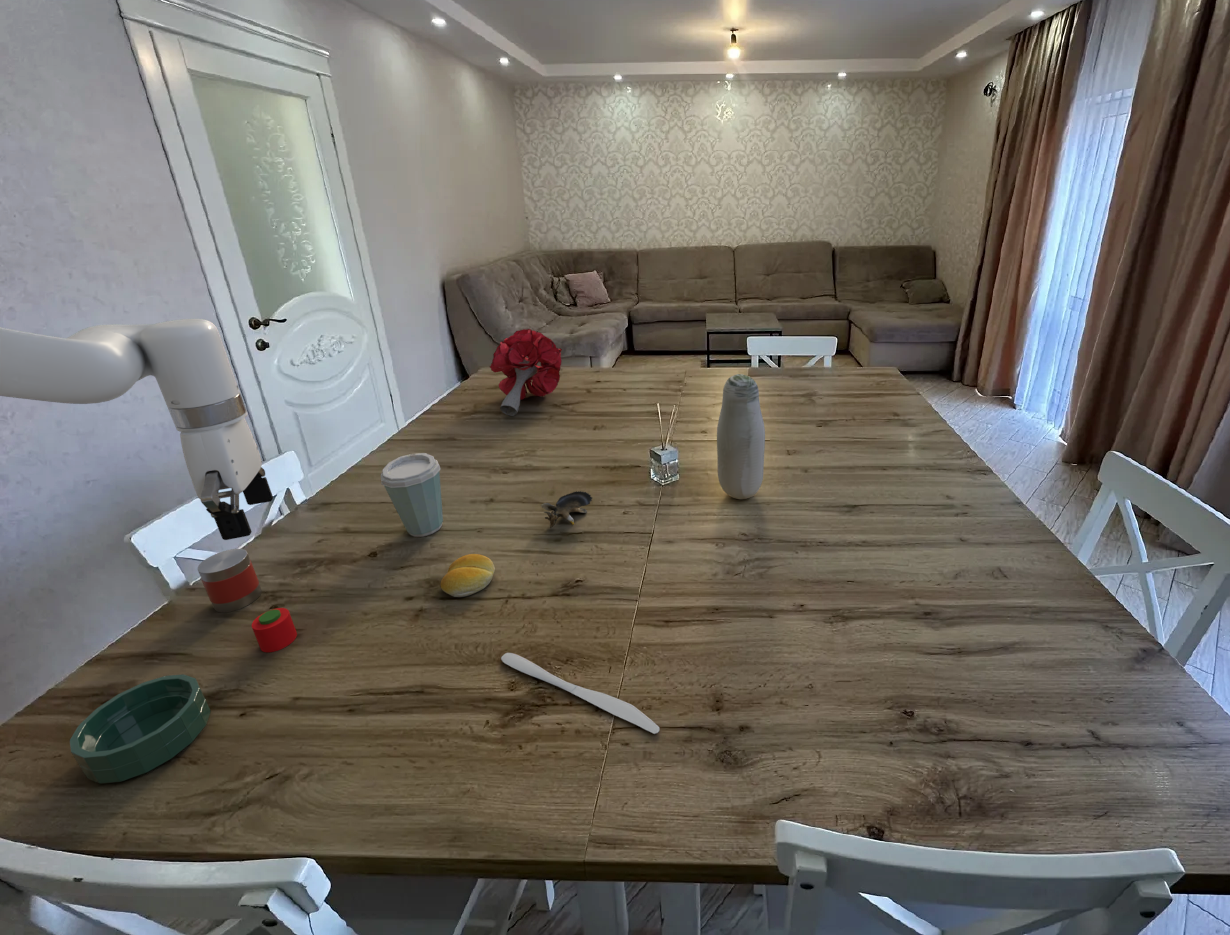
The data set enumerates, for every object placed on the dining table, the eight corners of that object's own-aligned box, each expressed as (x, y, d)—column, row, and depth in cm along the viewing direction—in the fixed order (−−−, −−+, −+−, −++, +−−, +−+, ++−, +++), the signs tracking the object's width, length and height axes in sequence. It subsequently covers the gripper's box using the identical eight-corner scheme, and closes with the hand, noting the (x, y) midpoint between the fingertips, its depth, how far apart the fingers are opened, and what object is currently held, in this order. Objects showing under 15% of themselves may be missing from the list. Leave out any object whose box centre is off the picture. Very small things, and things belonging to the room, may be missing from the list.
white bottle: (771, 499, 122) (775, 379, 112) (730, 510, 118) (730, 387, 108) (749, 479, 131) (750, 366, 120) (710, 489, 126) (708, 373, 116)
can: (204, 608, 92) (186, 569, 89) (244, 583, 98) (229, 545, 95) (231, 616, 90) (215, 576, 87) (271, 590, 96) (257, 552, 93)
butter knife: (513, 645, 83) (497, 658, 81) (666, 720, 71) (653, 738, 69) (513, 648, 83) (498, 661, 81) (666, 723, 72) (653, 742, 69)
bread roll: (435, 600, 93) (430, 581, 92) (456, 566, 102) (452, 548, 100) (484, 598, 94) (480, 579, 92) (501, 565, 102) (498, 547, 100)
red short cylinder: (253, 648, 84) (242, 622, 82) (282, 627, 88) (273, 602, 86) (275, 655, 83) (265, 629, 81) (304, 633, 87) (295, 608, 85)
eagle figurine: (567, 533, 109) (600, 506, 115) (546, 503, 108) (580, 478, 114) (552, 537, 115) (584, 511, 121) (532, 509, 114) (565, 485, 120)
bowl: (64, 770, 66) (46, 741, 65) (173, 693, 77) (160, 666, 75) (127, 798, 63) (109, 768, 61) (232, 714, 73) (220, 686, 72)
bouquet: (556, 431, 174) (578, 362, 192) (526, 382, 156) (554, 310, 174) (493, 432, 177) (521, 364, 196) (457, 384, 159) (491, 314, 178)
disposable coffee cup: (448, 538, 110) (434, 472, 104) (388, 548, 107) (370, 480, 101) (455, 510, 119) (442, 448, 114) (400, 519, 116) (384, 455, 111)
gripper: (202, 394, 81) (240, 495, 87) (141, 441, 66) (192, 559, 72) (263, 387, 84) (296, 486, 90) (218, 431, 69) (261, 545, 75)
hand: (250, 518), depth 81 cm, fingers open, 9 cm apart
